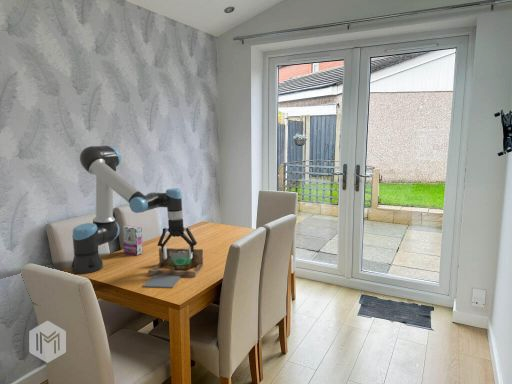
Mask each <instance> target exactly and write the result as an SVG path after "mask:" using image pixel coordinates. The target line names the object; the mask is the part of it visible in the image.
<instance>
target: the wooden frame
mask: <svg viewBox="0 0 512 384" xmlns="http://www.w3.org/2000/svg"><path fill="white" fill-rule="evenodd" d="M166 250H167V258H166V259H164V253H162V249H161V247H160V248H159V249H158V256H159V257H158V260H159V262H158V264H157V265H155V266H154V267H153V268H152V269H148V270H147V272H148V273H147V274H148V277H149V276H151V277H152V276H153V275H179V276H181V278H182V277H183V278H186V277H187V278H188V277H190V278H195V277H196V276H197V275H198V274H199V272H200V271H201V270H202V267H203V266H204V249H202V248H194V252H193V253H192V257H193V258H192V259H191V267H193V266H194V267H195V268H194V270H186V271H176V270H173V269H169V270H168V269H160V268H162V266H172V260H171V256H169V253H170V252H172V253H173V252H178V251H189V248H171V247H170V248H169V247H166Z"/></svg>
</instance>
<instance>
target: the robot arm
mask: <svg viewBox="0 0 512 384" xmlns="http://www.w3.org/2000/svg"><path fill="white" fill-rule="evenodd" d="M121 159H122V157H121V154H120V151H119V150H118V149H117V148H116V147H114V146H109V145H91V146H87V147H85V148H84V149H82V151H81V152H80V155H79V162H80V164H81V166H82V168H83V169H84V170H85V171H86V172H88V173H89V174H90V175H95V217H94V218H93V219H92V222H91V223H90V222H87V223H85V224H84V223H83V224H80V225H77V226H75V227H73V229H72V236H71V238H72V244H73V245H72V246H73V259H72V263H71V273H74V274H83V275H84V274H90V273H94V272H98V271H99V270H101V269H103V267H104V263H103V261H102V258H101V256H100V254H99V253H100V252H99V246H101V245H104V244H108V243H111V242H113V241H114V240H116V239H117V238H118V237H119V235H120V225H119V223H118V222H117V221H116V218H115V217H114V216H113V215H114V214H113V213H114V206H113V205H114V200H113V199H114V192H115V193H117V195H119V196H120V197H121V198H122V199H124V200H125V201H126V202H127V203H129V204H128V207H129V208H130V210H131V211H132V212H133V213H135V214H139V213H140V214H141V213H144V212H146V211H150V210H154V209H157V208H158V209H159V208H166V210H167V219H168V221H167V223H168V224H167V225H168V228H167V227H164V228H162V233H161V235H160V237H159V241H158V243H157V246H158V247H160V248H161V249H162V253H164V259H166V258H167V250H166V248H167V246H166V244H167V243H168V242H169V240H170V239H171V238H172V237H173V238H177V237H180V238H182V239H183V240H184V241H185V242H186V243H187V244H188V245H189V246H188V249H189V255H190V259H192V258H193V257H192V252H194V249H195V246H197V244H198V242H197V240H196V238H195V237H194V235H193V233H192V232H191V228H190V226H188V227H185V226H184V219H183V217H184V215H183V204H182V203H183V202H182V201H183V200H182V199H183V197H182V190H181V189H180V188H168V189H166V190H165V192H148V193H146V195H145V194H144V193H142V192H141V191H140V190H138V189H137V188H136V187H134V186H133V184H131V183H130V182H129V181H127V179H125V178H124V177H123V176H121V175H120V174H119V173H118V172H117V167H118V166H119V165H120V163H121ZM167 232H168V236H167V237H166V239H165V236H166V234H167ZM184 232H185V233H184ZM186 233H187V235H186ZM164 239H165V240H164Z"/></svg>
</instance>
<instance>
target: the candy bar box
mask: <svg viewBox="0 0 512 384" xmlns="http://www.w3.org/2000/svg"><path fill="white" fill-rule="evenodd" d="M142 230H143V228H142V227H141V226H134V225H125V226H122V234H123V236H122V237H123V252H124V254H127V255H133V256H139V255H142V254H143V253H144V252H143V251H144V250H143V249H144V248H143V233H142V232H143V231H142Z"/></svg>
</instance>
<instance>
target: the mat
mask: <svg viewBox="0 0 512 384" xmlns="http://www.w3.org/2000/svg"><path fill="white" fill-rule="evenodd" d="M181 278H182V277H181V276H179V275H153V276H151V277H150V278H149V279H148V280H147V281H146V282H145V283H144V284H143V285H142V288H158V289H159V288H160V289H164V288H165V289H166V288H167V289H172V288H174V286H175V285H176V284H177V283H178V281H179V280H180V279H181Z"/></svg>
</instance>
